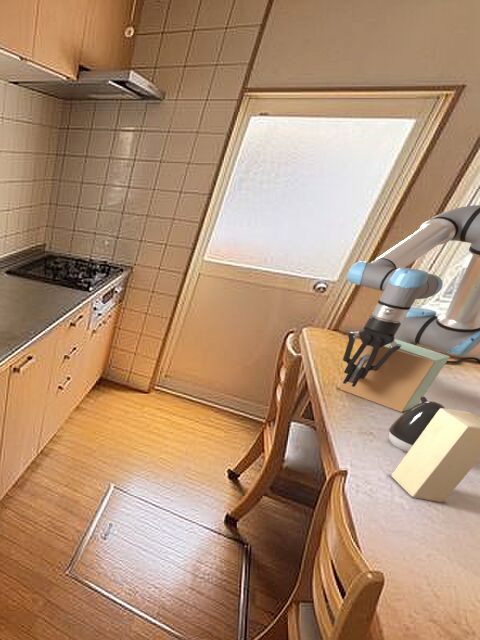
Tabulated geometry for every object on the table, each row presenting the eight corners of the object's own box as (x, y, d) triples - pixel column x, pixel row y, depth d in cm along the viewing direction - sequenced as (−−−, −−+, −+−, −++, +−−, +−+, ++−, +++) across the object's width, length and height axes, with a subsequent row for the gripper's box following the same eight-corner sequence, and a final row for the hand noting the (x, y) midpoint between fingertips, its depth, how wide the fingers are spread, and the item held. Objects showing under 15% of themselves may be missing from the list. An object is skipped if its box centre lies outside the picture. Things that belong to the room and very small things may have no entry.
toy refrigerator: (447, 504, 99) (506, 432, 90) (412, 498, 100) (467, 426, 91) (422, 481, 106) (474, 412, 97) (390, 475, 107) (438, 407, 98)
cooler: (402, 411, 138) (436, 360, 130) (344, 387, 152) (371, 339, 143) (416, 406, 142) (450, 356, 134) (358, 382, 156) (385, 335, 147)
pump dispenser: (416, 441, 122) (447, 397, 115) (439, 463, 114) (474, 417, 107) (375, 433, 125) (402, 389, 118) (393, 453, 116) (425, 407, 109)
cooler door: (396, 417, 134) (429, 366, 125) (332, 393, 146) (359, 344, 137) (402, 411, 138) (435, 360, 130) (340, 388, 150) (366, 340, 142)
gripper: (353, 313, 134) (320, 377, 144) (416, 329, 124) (374, 396, 135) (359, 309, 138) (326, 372, 149) (419, 324, 128) (379, 390, 139)
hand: (349, 383), depth 142 cm, fingers closed on cooler door, 2 cm apart
